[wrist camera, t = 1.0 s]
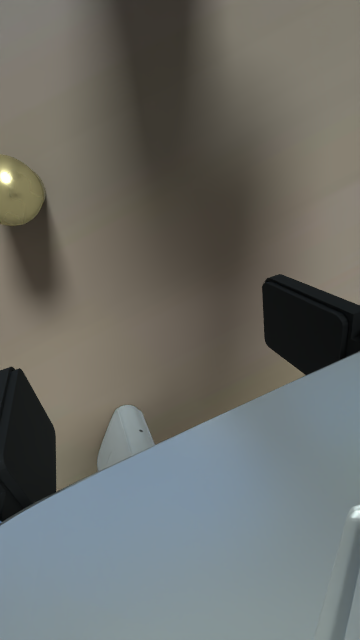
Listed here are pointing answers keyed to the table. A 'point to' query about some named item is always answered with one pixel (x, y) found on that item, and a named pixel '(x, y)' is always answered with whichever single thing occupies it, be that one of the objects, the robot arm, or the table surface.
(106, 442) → the photo printer
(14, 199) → the brass pin
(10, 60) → the table surface
